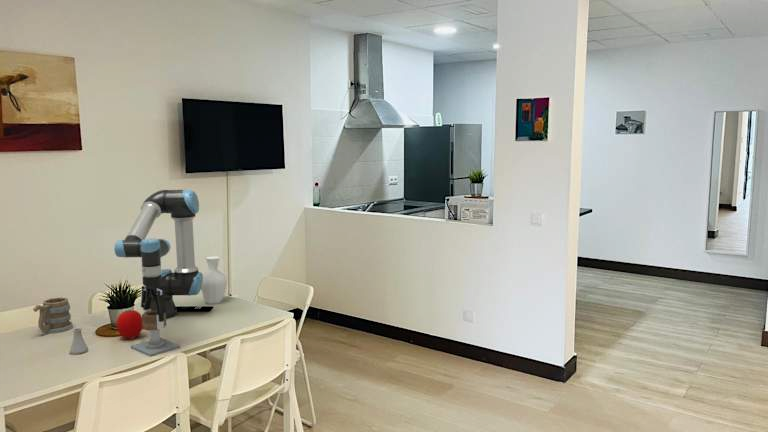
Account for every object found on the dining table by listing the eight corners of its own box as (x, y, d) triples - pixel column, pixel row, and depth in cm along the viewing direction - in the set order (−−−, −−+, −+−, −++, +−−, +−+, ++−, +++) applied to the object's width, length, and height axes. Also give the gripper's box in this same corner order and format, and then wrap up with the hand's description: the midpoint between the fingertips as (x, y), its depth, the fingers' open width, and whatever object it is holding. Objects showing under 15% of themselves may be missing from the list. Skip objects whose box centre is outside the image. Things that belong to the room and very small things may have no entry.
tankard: (56, 323, 285) (53, 294, 283) (78, 325, 282) (76, 295, 280) (23, 337, 265) (20, 305, 263) (47, 339, 263) (44, 307, 261)
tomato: (140, 341, 261) (138, 313, 259) (114, 342, 259) (112, 314, 258) (146, 332, 272) (144, 306, 270) (121, 334, 270) (120, 307, 269)
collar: (139, 327, 251) (138, 313, 250) (158, 322, 258) (157, 309, 257) (150, 331, 245) (149, 317, 244) (169, 326, 252) (169, 312, 251)
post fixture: (130, 348, 252) (129, 326, 251) (160, 339, 263) (159, 319, 262) (150, 356, 242) (149, 334, 241) (180, 347, 253) (179, 326, 252)
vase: (212, 306, 314) (211, 261, 311) (195, 302, 322) (193, 258, 318) (233, 300, 326) (231, 256, 323) (215, 296, 334) (214, 254, 330)
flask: (75, 348, 252) (73, 326, 250) (91, 348, 251) (90, 326, 250) (65, 354, 244) (64, 331, 243) (82, 355, 244) (81, 332, 243)
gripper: (130, 273, 252) (133, 323, 255) (157, 280, 239) (160, 333, 242) (146, 270, 258) (149, 319, 261) (174, 277, 245) (176, 329, 247)
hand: (154, 326), depth 251 cm, fingers closed on collar, 9 cm apart
